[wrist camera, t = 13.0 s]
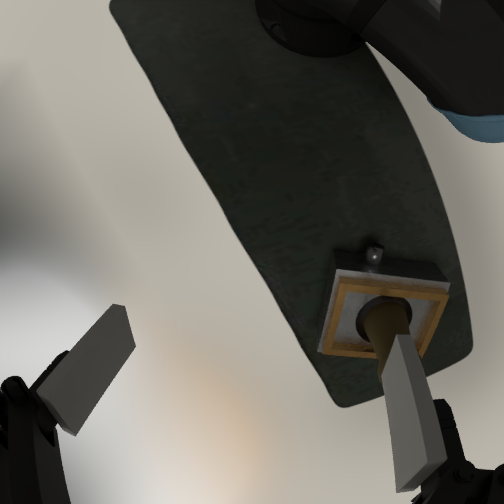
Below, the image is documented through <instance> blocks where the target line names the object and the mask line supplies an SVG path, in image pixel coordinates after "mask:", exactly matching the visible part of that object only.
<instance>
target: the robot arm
mask: <svg viewBox="0 0 504 504" xmlns="http://www.w3.org/2000/svg"><path fill="white" fill-rule="evenodd" d="M255 4H256V10H257V14H258V17H259V19H260V21H261V23H262V25H263V27H264V29H265V30H266V31H267V33H268V34H269V35H270V36H271V37H272V38H273V39H274V40H275V41H277V42H278V43H279V44H281V45H282V46H284V47H285V48H287V49H289V50H291V51H294V52H296V53H299V54H302V55H306V56H311V57H323V58H325V57H336V56H341V55H344V54H347V53H350V52H352V51H354V50H356V49H357V48H359V47H360V46H362V45H363V44H364V43H365V42H368V43H369V44H370V45H371V46H372V47H374V48H375V49H376V50H377V51H379V52H380V53H381V54H382V55H383V56H385V57H386V58H387V59H388V60H389V61H390V62H391V63H392V64H393V65H395V66H396V67H397V68H398V69H399V70H400V71H401V72H402V73H403V74H404V75H405V76H407V77H408V78H409V79H410V80H411V81H412V82H413V83H414V84H415V85H416V86H417V87H418V88H419V89H420V90H421V91H422V92H423V93H424V94H425V95H426V97H427V100H428V102H429V103H430V104H431V105H432V107H434V108H435V109H436V110H438V111H439V112H440V113H442V114H443V115H444V116H445V117H446V118H447V119H448V120H449V121H450V122H451V123H452V124H453V126H454V127H455V128H456V129H457V130H458V131H459V132H461V133H462V134H464V135H466V136H467V137H469V138H471V139H473V140H476V141H480V142H486V143H500V142H504V0H255ZM135 347H136V346H135V342H134V338H133V335H132V331H131V328H130V324H129V320H128V316H127V312H126V309H125V306H121V305H116V304H112V306H111V307H110V308H109V309H108V310H107V311H106V312H105V313H104V314H103V315H102V316H101V317H100V318H99V319H98V320H97V322H96V323H95V324H94V325H93V326H92V327H91V328H90V329H89V330H88V331H87V333H86V334H85V335H84V336H83V337H82V338H81V339H80V340H79V341H78V342H77V344H76V345H75V346H74V347H73V348H72V349H71V350H70V351H67V350H66V351H64V352H63V353H61V354H59V355H58V356H57V357H56V358H55V359H54V361H52V364H50V365H49V366H48V367H47V369H46V370H45V371H44V372H43V373H42V374H41V375H40V376H39V378H38V379H37V380H36V381H35V382H34V383H33V385H32V386H31V387H30V388H29V389H28V387H27V386H26V384H25V382H24V381H23V379H22V378H21V377H19V376H11V377H8V378H7V379H6V380H4V381H3V383H2V384H1V387H0V389H1V390H0V504H71V502H70V498H69V494H68V490H67V485H66V481H65V476H64V471H63V466H62V460H61V454H60V448H59V441H58V434H57V430H56V428H55V426H56V425H57V423H58V424H59V425H60V427H61V428H62V429H63V430H64V431H66V432H68V433H69V434H72V435H73V436H76V435H77V433H78V432H79V430H80V429H81V427H82V426H83V424H84V422H85V421H86V419H87V418H88V416H89V415H90V413H91V412H92V410H93V409H94V407H95V406H96V404H97V403H98V401H99V400H100V398H101V397H102V395H103V394H104V392H105V391H106V389H107V388H108V386H109V385H110V383H111V382H112V380H113V379H114V378H115V376H116V375H117V373H118V372H119V370H120V369H121V367H122V366H123V364H124V363H125V362H126V360H127V359H128V357H129V356H130V354H131V353H132V352H133V350H134V348H135ZM381 378H382V383H383V389H384V395H385V401H386V407H387V413H388V420H389V427H390V435H391V443H392V451H393V460H394V470H395V482H396V493H400V492H407V491H413V490H415V489H416V488H417V487H418V486H420V485H421V493H419V494H418V495H417V496H416V497H415V498H413V499H412V500H411V502H413V503H412V504H504V464H502V465H500V466H498V467H497V468H496V469H495V470H485V469H477V468H475V466H474V465H473V464H472V463H471V462H469V461H467V460H466V459H465V456H464V452H463V448H462V444H461V441H460V437H459V433H458V430H457V428H456V423H455V420H454V416H453V413H452V409H451V407H450V406H449V405H448V403H447V402H446V401H445V399H435V400H433V399H432V396H431V393H430V389H429V386H428V383H427V379H426V376H425V373H424V370H423V367H422V364H421V361H420V358H419V355H418V352H417V349H416V347H415V344H414V341H413V338H412V336H411V335H399V334H396V337H395V340H394V343H393V346H392V348H391V351H390V354H389V357H388V359H387V362H386V365H385V367H384V370H383V373H382V375H381Z"/></svg>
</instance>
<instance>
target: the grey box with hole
mask: <svg viewBox="0 0 504 504" xmlns="http://www.w3.org/2000/svg"><path fill="white" fill-rule="evenodd" d="M384 249H385V248H384V246H382V245H380V244H378V243H372V242H370V243H367V245H366V250H365V254H363V253H356V252H348V251H341V250H333V251H332V256H331V261H330V267H329V272H328V277H327V282H326V287H325V292H324V296H323V301H322V306H321V310H320V315H319V319H318V323H317V352H322V354H328V355H338V356H350V357H363V358H377V356H376V353H375V351H374V349H373V347H372V345H371V342H370V340H369V338H368V336H367V334H366V332H365V329H364V325H363V324H364V318H365V316H366V314H367V313H368V311H369V310H370V309H371V308H372V307H374V306H375V305H377V304H379V303H382V302H388V301H392V302H396V303H399V304H400V305H402V306H403V308H404V309H405V311H406V315H407V320H408V325H409V330H410V334H411V336H412V338H413V341H414V344H415V347H416V349H417V352H418V353H419V355H420V356H421V358H422V357H423V355H424V353H425V351H426V349H427V346H428V344H429V342H430V340H431V338H432V336H433V334H434V331H435V329H436V327H437V324H438V322H439V320H440V317H441V315H442V313H443V310H444V308H445V305H446V303H447V300H448V298H449V294H448V289H449V286H450V282H449V280H448V279H447V278H446V276H445V275H444V274H443V273H442V271H441V270H440V269H439V268H438V266H437V265H436V264H435V263H428V262H421V261H414V260H407V259H400V258H393V257H385V256H383V253H384Z"/></svg>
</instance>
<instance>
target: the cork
mask: <svg viewBox="0 0 504 504" xmlns="http://www.w3.org/2000/svg"><path fill="white" fill-rule="evenodd" d="M363 325H364V329H365V332H366V334H367V336H368V338H369V340H370V342H371V345H372V347H373V349H374V351H375V353H376V356H377V358H378V360H379V365H378V371H377V372H378V377H379V381H380V382H381V384H382V385H383V383H382V378H381V375H382V373H383V370H384V367H385V365H386V362H387V359H388V357H389V354H390V351H391V348H392V346H393V343H394V340H395V337H396V334H399V335H411V334H410V330H409V325H408V320H407V315H406V311H405V309H404V308H403V306H402V305H400V304H399V303H396V302H392V301H388V302H382V303H379V304H377V305H375V306H374V307H372V308H371V309H370V310H369V311H368V313H367V314H366V316H365V318H364V324H363ZM418 355H419V353H418ZM419 358H420V361H421V364H422V367H423V361H422V358H421V356H420V355H419Z"/></svg>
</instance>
